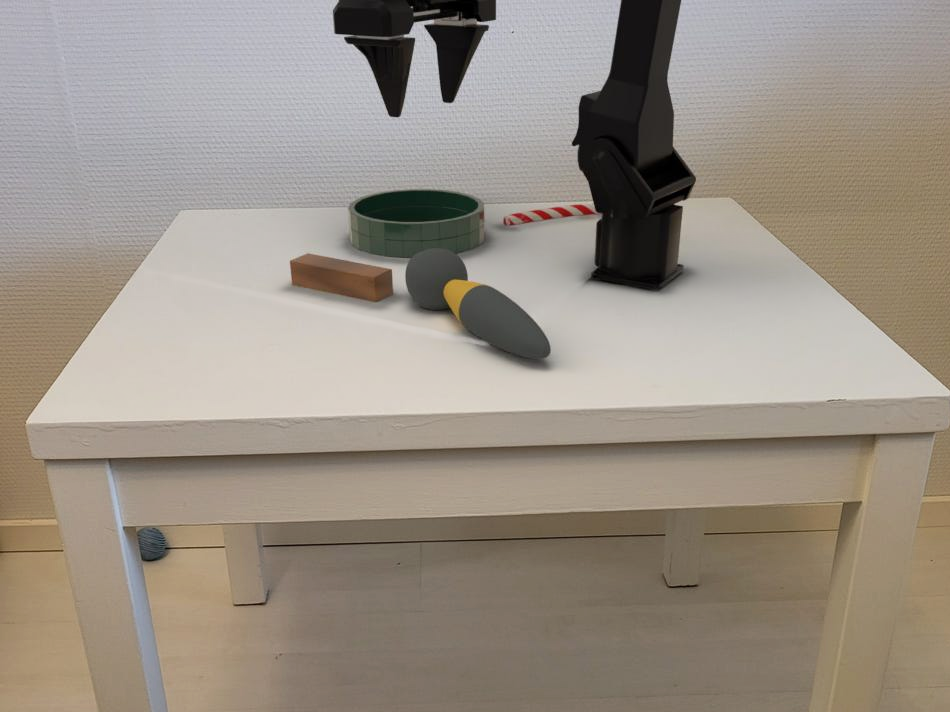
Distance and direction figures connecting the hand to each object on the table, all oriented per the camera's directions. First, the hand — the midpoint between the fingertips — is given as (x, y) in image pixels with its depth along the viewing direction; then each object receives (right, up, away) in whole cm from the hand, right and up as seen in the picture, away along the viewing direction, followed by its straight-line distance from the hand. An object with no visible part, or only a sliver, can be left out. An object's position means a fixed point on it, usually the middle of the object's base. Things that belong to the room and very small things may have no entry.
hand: (422, 109), depth 95 cm
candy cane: (+15, -9, +8) cm, 20 cm away
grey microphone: (+5, -23, -17) cm, 30 cm away
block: (-6, -19, -10) cm, 23 cm away
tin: (-1, -12, +3) cm, 12 cm away
